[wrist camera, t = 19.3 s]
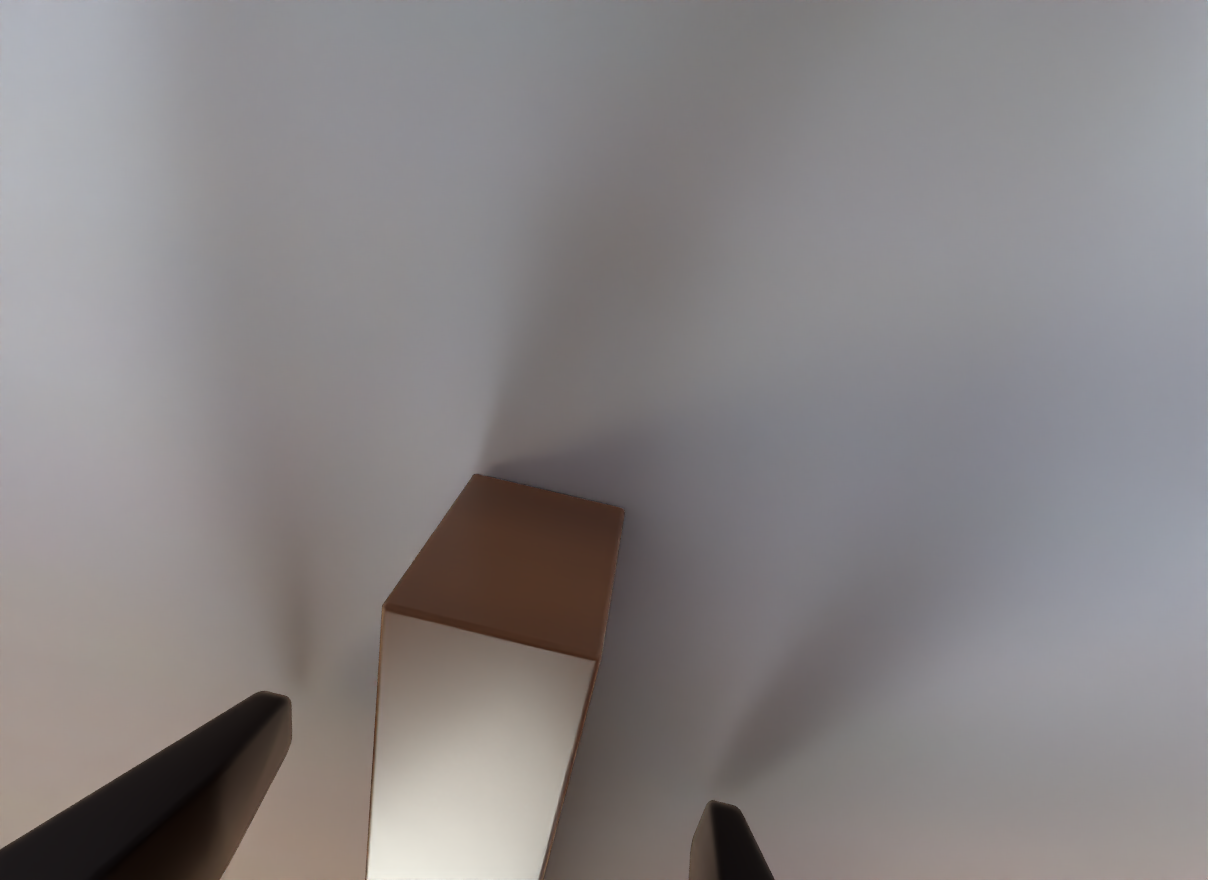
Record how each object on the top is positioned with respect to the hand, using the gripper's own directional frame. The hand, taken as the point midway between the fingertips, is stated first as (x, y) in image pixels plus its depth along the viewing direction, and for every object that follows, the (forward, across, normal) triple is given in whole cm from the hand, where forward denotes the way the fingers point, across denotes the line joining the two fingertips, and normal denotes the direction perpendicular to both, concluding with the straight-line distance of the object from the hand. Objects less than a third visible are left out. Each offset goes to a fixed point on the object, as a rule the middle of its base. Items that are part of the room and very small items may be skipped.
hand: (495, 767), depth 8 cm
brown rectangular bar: (0, 0, 0) cm, 0 cm away
